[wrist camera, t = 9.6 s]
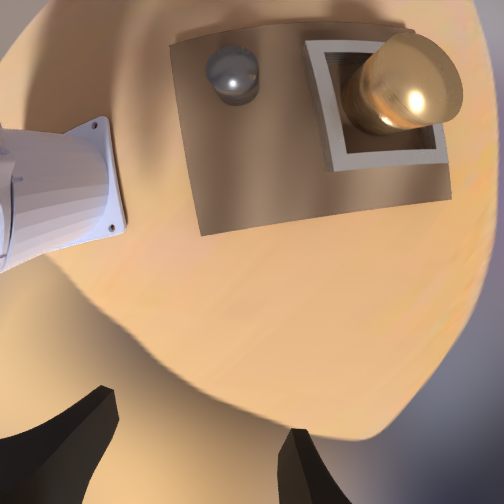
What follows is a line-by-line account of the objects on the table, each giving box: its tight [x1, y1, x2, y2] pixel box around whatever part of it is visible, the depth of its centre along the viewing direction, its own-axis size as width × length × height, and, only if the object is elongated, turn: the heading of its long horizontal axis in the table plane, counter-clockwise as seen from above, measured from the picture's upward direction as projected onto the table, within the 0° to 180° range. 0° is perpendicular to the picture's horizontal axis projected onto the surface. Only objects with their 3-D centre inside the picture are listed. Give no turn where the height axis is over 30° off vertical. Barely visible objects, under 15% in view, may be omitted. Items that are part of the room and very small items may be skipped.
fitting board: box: [169, 22, 452, 236], centre depth 13 cm, size 16×12×4 cm
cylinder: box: [341, 32, 463, 136], centre depth 10 cm, size 4×4×6 cm
